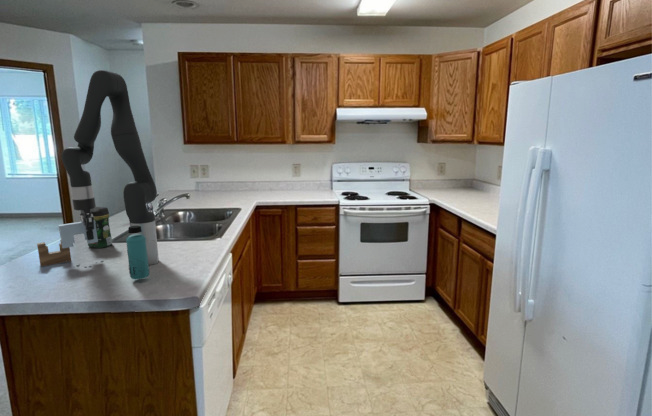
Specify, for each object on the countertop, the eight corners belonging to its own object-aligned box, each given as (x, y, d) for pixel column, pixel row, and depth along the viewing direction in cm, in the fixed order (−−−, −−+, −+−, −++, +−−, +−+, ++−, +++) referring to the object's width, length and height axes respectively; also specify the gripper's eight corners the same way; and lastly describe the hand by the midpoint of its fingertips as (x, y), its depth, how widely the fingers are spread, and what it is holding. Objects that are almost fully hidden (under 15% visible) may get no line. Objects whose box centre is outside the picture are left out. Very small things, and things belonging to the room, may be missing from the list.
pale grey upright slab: (98, 241, 154) (94, 220, 153) (63, 248, 146) (59, 226, 145) (96, 240, 156) (93, 219, 154) (62, 247, 148) (58, 225, 146)
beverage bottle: (153, 276, 137) (148, 223, 133) (145, 283, 131) (139, 228, 127) (135, 276, 137) (129, 223, 133) (126, 283, 131) (120, 228, 127)
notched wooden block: (71, 260, 154) (68, 239, 152) (41, 266, 147) (37, 244, 145) (70, 259, 155) (67, 238, 154) (40, 265, 149) (36, 243, 147)
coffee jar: (84, 247, 171) (79, 208, 167) (98, 242, 179) (93, 204, 175) (103, 249, 169) (98, 209, 166) (115, 244, 177) (111, 205, 173)
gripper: (98, 197, 148) (104, 240, 151) (89, 194, 158) (96, 234, 161) (76, 200, 143) (83, 244, 146) (68, 196, 152) (75, 237, 156)
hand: (89, 238), depth 153 cm, fingers closed on pale grey upright slab, 2 cm apart
